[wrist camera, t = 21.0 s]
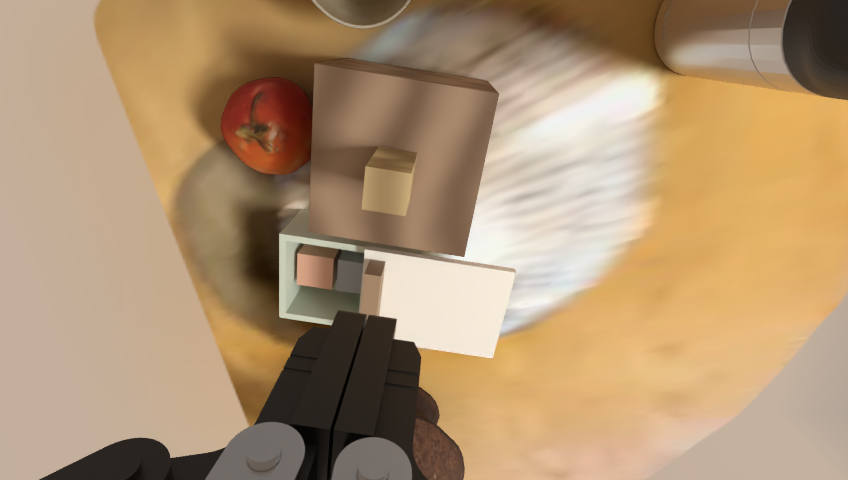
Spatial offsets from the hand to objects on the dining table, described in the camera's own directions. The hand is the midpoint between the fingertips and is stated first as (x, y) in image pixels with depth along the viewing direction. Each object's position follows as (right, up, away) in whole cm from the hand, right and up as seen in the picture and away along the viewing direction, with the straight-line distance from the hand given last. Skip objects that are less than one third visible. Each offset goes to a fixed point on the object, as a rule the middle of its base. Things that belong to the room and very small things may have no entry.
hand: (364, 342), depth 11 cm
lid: (+2, -4, +34) cm, 35 cm away
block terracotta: (-10, +1, +40) cm, 42 cm away
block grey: (-6, 0, +40) cm, 41 cm away
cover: (0, +13, +35) cm, 37 cm away
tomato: (-13, +15, +35) cm, 40 cm away
